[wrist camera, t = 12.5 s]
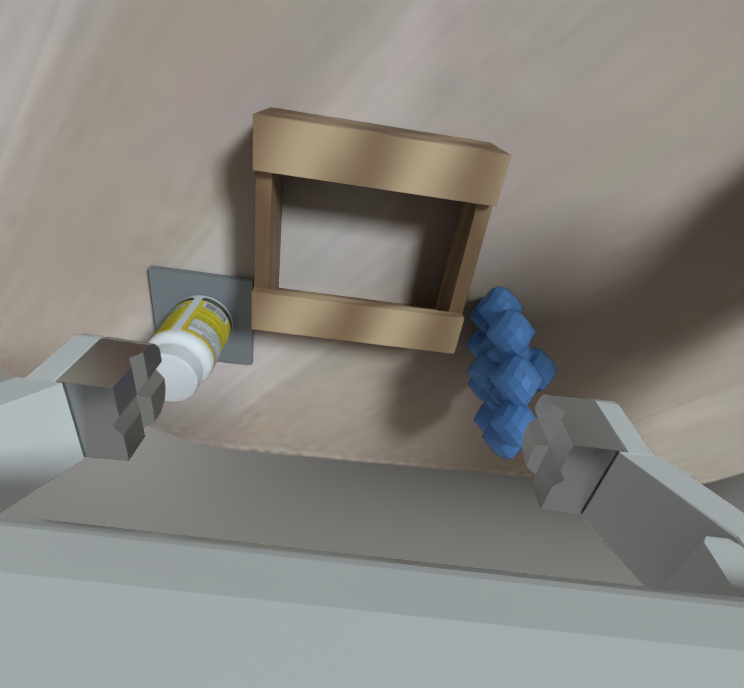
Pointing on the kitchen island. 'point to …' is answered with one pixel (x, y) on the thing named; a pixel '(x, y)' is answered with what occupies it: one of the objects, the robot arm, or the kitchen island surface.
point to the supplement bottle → (191, 344)
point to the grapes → (505, 371)
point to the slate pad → (226, 289)
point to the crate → (381, 171)
